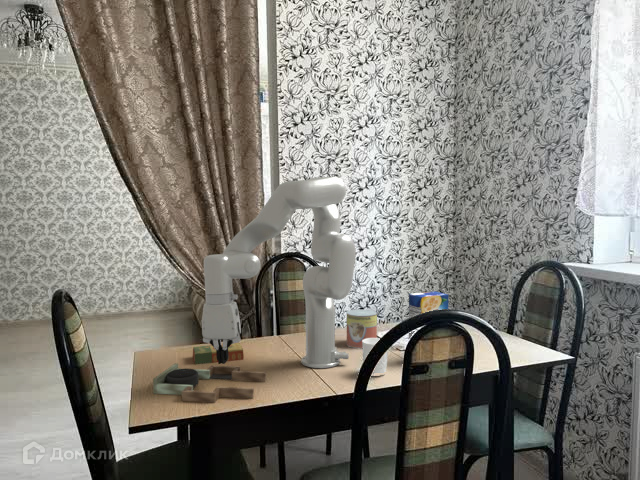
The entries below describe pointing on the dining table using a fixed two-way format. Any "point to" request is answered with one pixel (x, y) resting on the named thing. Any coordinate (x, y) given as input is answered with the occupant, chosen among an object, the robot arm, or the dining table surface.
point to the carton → (209, 354)
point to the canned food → (360, 326)
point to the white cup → (367, 346)
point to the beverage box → (426, 303)
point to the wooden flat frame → (210, 373)
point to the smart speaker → (182, 377)
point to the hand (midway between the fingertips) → (222, 362)
